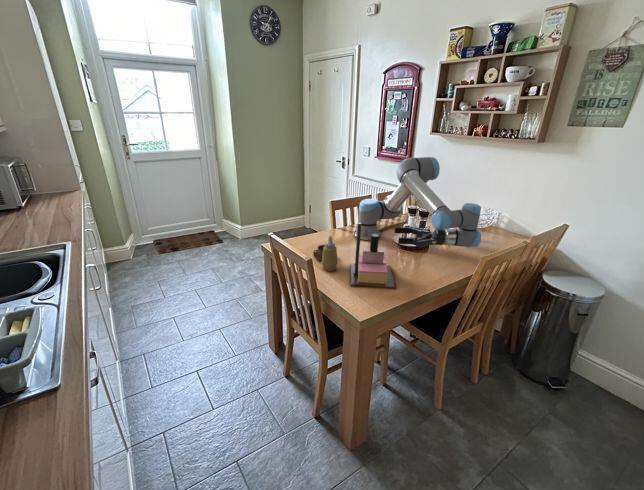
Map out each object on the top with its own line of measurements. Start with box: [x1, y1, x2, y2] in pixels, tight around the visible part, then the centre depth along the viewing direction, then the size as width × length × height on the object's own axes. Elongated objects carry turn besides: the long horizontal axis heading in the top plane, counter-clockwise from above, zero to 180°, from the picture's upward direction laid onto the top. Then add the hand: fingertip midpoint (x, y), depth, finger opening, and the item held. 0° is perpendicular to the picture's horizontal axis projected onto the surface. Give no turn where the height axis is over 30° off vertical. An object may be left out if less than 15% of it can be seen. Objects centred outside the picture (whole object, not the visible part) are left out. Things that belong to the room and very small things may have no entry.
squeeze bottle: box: [321, 235, 338, 272], centre depth 163 cm, size 8×8×18 cm
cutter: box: [362, 234, 385, 265], centre depth 154 cm, size 4×10×15 cm, turn 85°
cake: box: [358, 254, 388, 284], centre depth 159 cm, size 17×13×6 cm
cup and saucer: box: [312, 244, 325, 261], centre depth 177 cm, size 12×12×6 cm
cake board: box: [350, 222, 396, 290], centre depth 155 cm, size 22×20×27 cm
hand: (396, 235), depth 150 cm, fingers open, 13 cm apart
